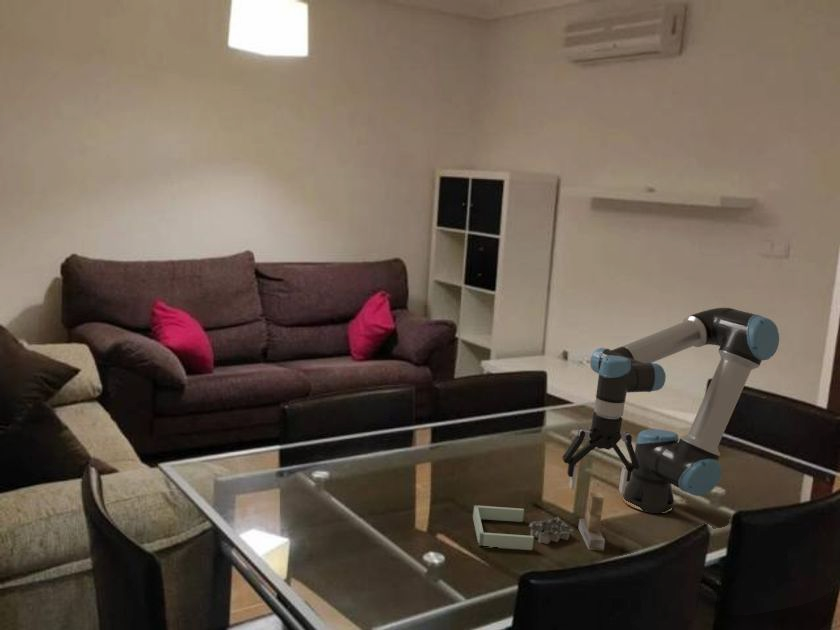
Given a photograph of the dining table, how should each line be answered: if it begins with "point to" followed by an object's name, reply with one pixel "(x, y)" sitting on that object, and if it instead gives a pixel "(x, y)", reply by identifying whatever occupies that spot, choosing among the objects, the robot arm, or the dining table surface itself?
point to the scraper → (593, 523)
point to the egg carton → (550, 530)
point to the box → (500, 539)
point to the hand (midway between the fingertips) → (596, 490)
